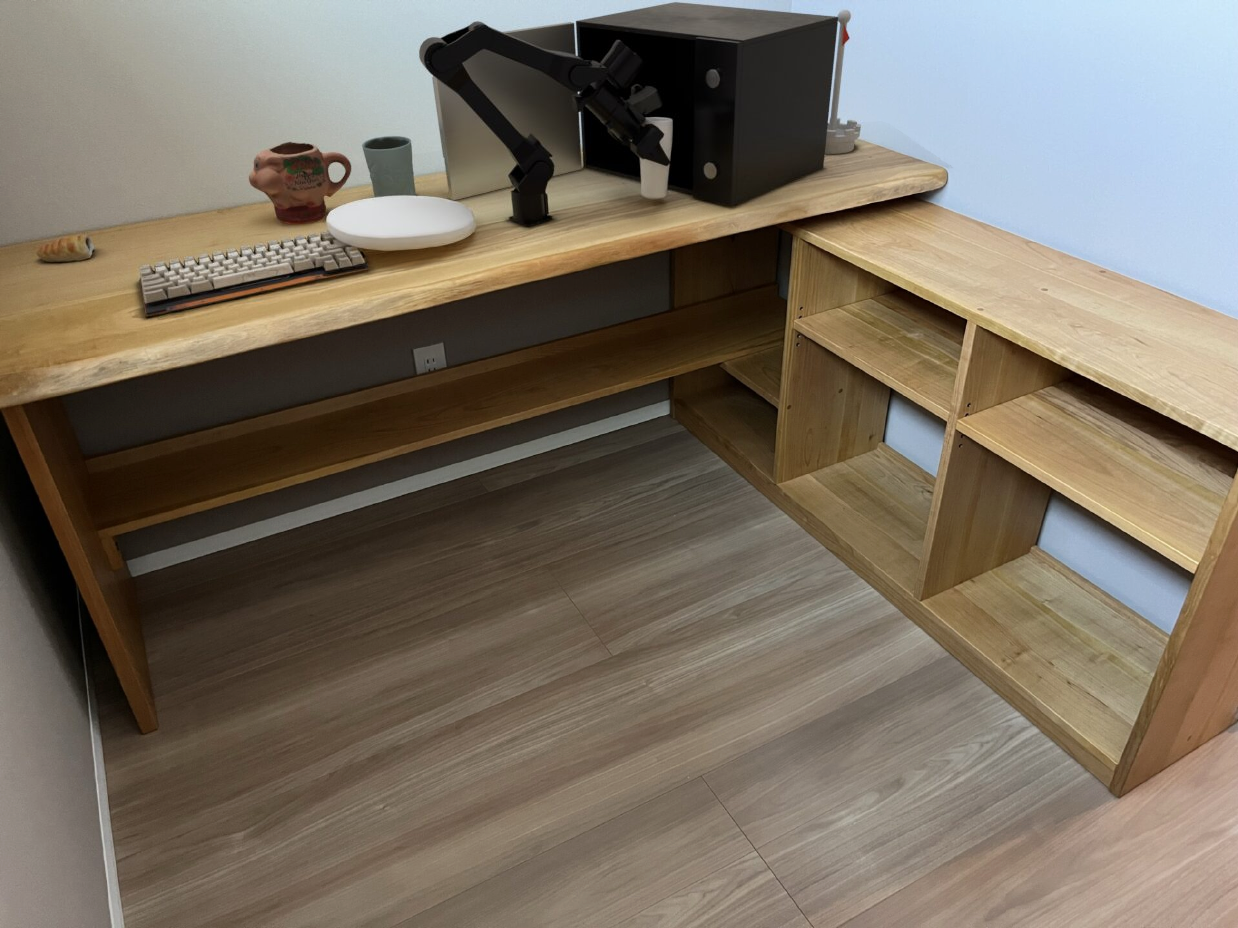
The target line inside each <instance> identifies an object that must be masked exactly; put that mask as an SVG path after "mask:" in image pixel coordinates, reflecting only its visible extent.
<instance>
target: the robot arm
mask: <svg viewBox="0 0 1238 928" xmlns="http://www.w3.org/2000/svg"><path fill="white" fill-rule="evenodd" d="M503 32H504V31H501V30H498V29H496V28H494V27H491V26H488V24H486V23H484V22H482V21H478V20H477V21H473V22H471V23H470V24H469V25H466V26H465V27H462V28H460V29H457V30H455V31H452V32H450V33H447V34H445V35H443V36H441V37H437V36H431V37H428V38H426V39H425V40H423V42H422V43H421V45H420V46H419V50H418V57H419V60H420V62H421V64H422V66H423V67H424V68H425V69H426V70H427V72H429V74H431V75H432V77H433V76H434V77H436V78H437V79H438V80H440V81H441V82H442V83H443V84H445V85H446V86H447V87H449V88H450V89H452V90H453V91H454V92H456V93H457V94H458V95H459V96H460V97H461V98H462V99H463V100H464V101H465V102H466V103H467V104H468V105H469V107H470V108H471V109H472V110H473V111H474V112H475V113H476V114H477V115H478V116H479V117H480V118H481V120H482V121H483V122H484V123H485V124H486V125H487V126H488V127H489V128H490V129H491V130H492V132H493V133H494V134H495V135H496V136H497V137H498V138H499V139H500V140H501V141H502V142H503V143H504V145H505V146H506V147H507V149H508V151H509V152H510V154H511V156H512V157H513V159H514V161H515V162H516V166H515V167H514V168H513V170H512V171H511V172H510V173H509V175H508V177H509V179H510V181H511V183H512V185H514V186H513V187H514V188H513V189H512V190H510V196H511V206H512V215H511V216H509V217H508V220H509V221H510V222H514V223H516V224H519V225H522V226H524V227H525V228H529V227H532V226H535V225H539V224H542V223H545V222H549V221H552V220H553V216H552V215H549V213H550V212H549V211H550V209H549V197H548V193H547V192H546V191H547V187H548V183H549V181H551V179H552V178H553V177H554V176H553V174H554V167H555V166H554V163H553V162H552V160H551V159H550V158H549V157H552V154H550V153H549V152H548V151H547V150H546V149H545V148H544V147H543V146H542V145H541V143H540V141H539V140H538V139H537V138H536V137H535V136H534V135H533V134H532V133H530V134H529V136H528V137H527V138H525V137H524V136H523V135H521V134H520V133H519V132H518V131H517V130H516V129H515V127H514V126H513V125H512V124H511V123H510V122H509V121H508V120H507V119H506V117H505V116H504V115H503V114H502V113H501V112H500V111H499V110H498V109H497V107H496V106H495V105H494V104H493V103H492V102H491V101H490V100H489V98H488V97H487V96H486V95H485V94H484V93H483V92H482V91H481V90H480V88H479V87H478V86H477V85H476V84H475V83H474V82H473V81H472V79H471V77H470V76H469V74H468V72H467V71H466V69H465V67H464V65H463V64H462V63H463V62H465V61H466V60H468V59H469V58H471V57H472V56H473V55H475V54H476V53H478V52H479V51H481V50H483V49H486V50H489V51H491V52H494V53H496V54H499V55H501V56H504V57H506V58H509V59H511V60H514V61H516V62H519V63H521V64H524V65H526V66H529V67H532V68H534V69H537V70H539V71H541V72H543V73H545V74H546V75H548V76H549V77H551V78H552V79H554V80H556V81H557V82H559V83H560V84H562V85H563V86H565V87H567V88H568V89H570V90H572V91H574V92H578V94H576V95H572V98H573V105H572V107H573V108H574V109H575V110H576V111H578V112H579V113H580V111H581V110H582V109H583V108H584V106H586V107H587V108H588V109H589V110H590V111H591V112H592V113H593V114H594V115H595V116H596V117H597V118H599V119H600V121H601V122H602V123H603V124H604V125H605V126H607V127H608V133H609V134H610V135H611V136H612V137H613V138H615V139H616V140H617V141H618V140H619V139H620V140H619V142H620V143H622V144H623V145H625V146H627V147H630V148H631V150H632V151H633V152H634V153H635V154H636V155H637V156H639V157H640V158H641V159H646V160H649V161H652V162H655V163H658V164H661V165H664V166H668V165H669V164H670V161H669V159H668V157H667V155H666V154H665V152H664V150H663V149H662V147H661V145H660V141H661V139H662V138H663V137H664V133H663V132H662V131H661V130H660V129H659V128H658V127H657V126H655V125H653V124H645V126H644V127H643V126H641V124H643V122H644V121H645V120H646V118H645V117H644V116H645V115H647V114H648V113H650V112H652V111H653V110H655V109H656V108H660V107H661V106H662V105H663V103H662V101H661V98H660V96H659V94H658V91H657V89H655V88H653V87H652V86H645V88H643V87H642V86H640V85H639V84H635V85H634V86H632V87H631V96H629V97H630V98H629V99H628V100H627V101H625V100H624V99H623V98H622V97H620V96H619V95H618V94H617V93H616V92H615V91H614V90H613V89H612V88H611V87H610V86H609V85H608V84H607V83H606V82H605V80H606V79H607V80H608V81H609V82H610V83H611V84H612V85H613V86H614V87H616V88H617V89H619V88H620V86H621V87H622V88H627V87H628V85H629V84H630V83H631V82H632V80H633V79H634V78H635V77H636V75H637V74H638V73H639V72H640V70H641V69H642V68H643V67H644V66H645V63H644V61H643V60H642V59H641V58H640V57H639V56H638V55H637V54H636V53H634V52H633V51H631V50H630V49H629V48H628V47H627V46H626V45H624V44H623V42H622V41H620V40H616V42H615V43H614V44H613V46H612V48H611V50H610V51H609V52H608V54H607V55H606V56H605V57H604V59H603V60H602V61H601V62H600V63H598V62H596V61H587V60H583V59H581V58H580V57H578V55H577V54H576V55H574V54H571V53H566V52H560V51H554V50H547V49H542V48H540V47H537V46H535V45H533V44H530V43H528V42H525V41H523V40H520V39H518V38H515V37H513V36H511V35H508V34H506V33H503ZM590 83H591V84H590ZM579 92H580V93H579ZM639 131H640V132H639Z"/></svg>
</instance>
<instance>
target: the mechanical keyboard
mask: <svg viewBox="0 0 1238 928" xmlns="http://www.w3.org/2000/svg"><path fill="white" fill-rule="evenodd" d="M306 236H307V237H305V236H304V234H301V235H295V236H294V239H292V238H291V237H286V238H285V237H284V238H281V239H280V241H279V242H278V240H277V239H274V240H268V241H267V247H266V245H265V243H264V242H258V243H254V244H253V248H252V247H251V245H250V244H247V245H241V246H240V247H239V249H240V250H239V251H238V250H237V248H236V247H232V248H226V249H225V253H224V252H223V251H222V249H221V250H217V251H216V250H215V251H212V252H211V256H210V255H209V254H208V252H205V253H200V254H197V259H196V257H194V255H190V256H184V257H183V263H182V261H181V260H180V259H179V258H174V259H173V258H172V259H169V260H168V265H167V263H166V262H165V261H164V260H163V261H158V262H154V268H153V267H152V265H151V264H150V263H146V264H141V265H139V266H138V268H139V276H140V278H139V280H138V281H139V287H140V292H141V298H142V302H143V307H144V314H145V318H151V317H155V316H159V315H164V314H167V313H174V312H178V311H179V312H181V311H184V310H187V309H193V308H196V307H201V306H206V305H211V304H215V303H220V302H223V301H230V300H233V299H238V298H242V297H246V296H251V295H257V294H261V293H265V292H269V291H273V290H278V289H281V288H287V287H291V286H294V285H300V284H303V283H309V282H313V281H317V280H323V279H328V278H332V277H337V276H342V275H348V274H352V273H353V274H354V273H358V272H362V271H370V266H369V265H368V263H367V261H366V260H365V258H366V256H367V255H366V254H365V252H364V251H363V250H359V249H358V247H354V246H351V245H348V244H346V243H343V242H341V241H340V240H338V239H336V238H335V237H334V236H333V235H332V234H331V233H330V232H329V230H328V229H327V230H324V231H323V230H322V231H320V234H318V233H317V232H313V233H312V232H311V233H307V235H306Z"/></svg>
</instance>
